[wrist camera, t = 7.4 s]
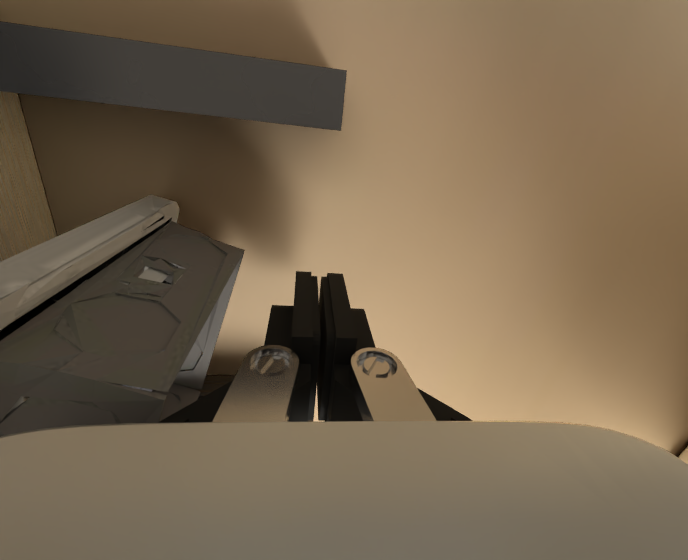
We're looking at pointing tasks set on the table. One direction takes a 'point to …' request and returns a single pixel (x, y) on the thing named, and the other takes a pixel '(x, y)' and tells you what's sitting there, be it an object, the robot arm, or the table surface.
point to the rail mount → (137, 104)
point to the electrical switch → (111, 320)
